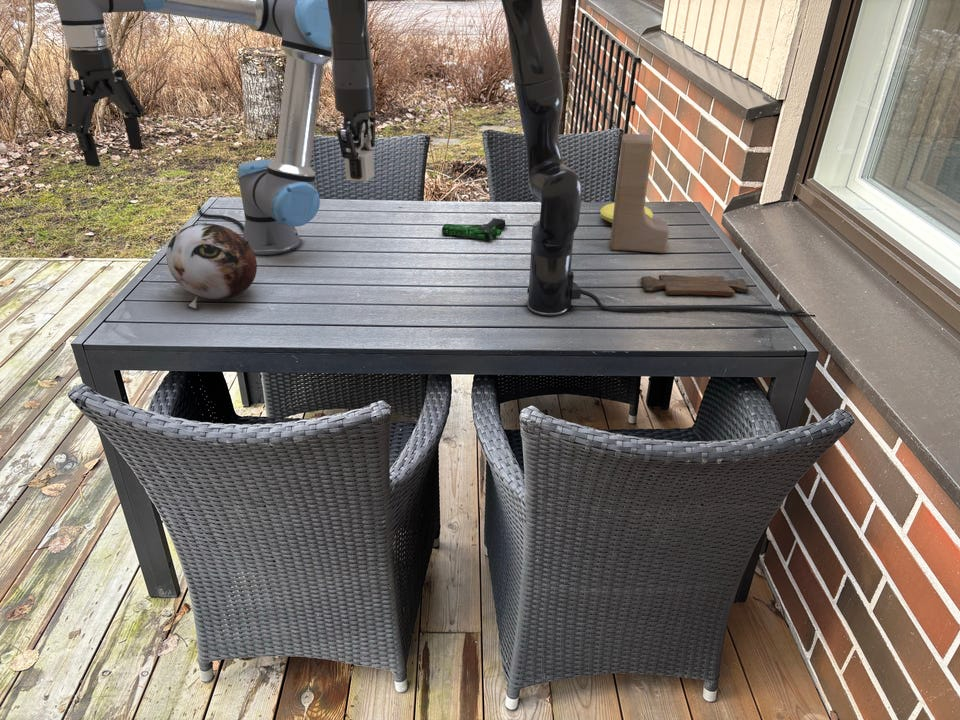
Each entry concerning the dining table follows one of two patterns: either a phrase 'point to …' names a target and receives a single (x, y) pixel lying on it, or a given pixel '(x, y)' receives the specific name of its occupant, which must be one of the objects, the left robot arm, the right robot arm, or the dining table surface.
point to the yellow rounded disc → (609, 210)
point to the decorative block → (635, 200)
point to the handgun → (476, 230)
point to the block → (363, 167)
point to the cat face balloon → (211, 261)
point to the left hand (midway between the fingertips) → (116, 157)
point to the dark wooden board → (694, 285)
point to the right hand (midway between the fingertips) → (361, 174)
